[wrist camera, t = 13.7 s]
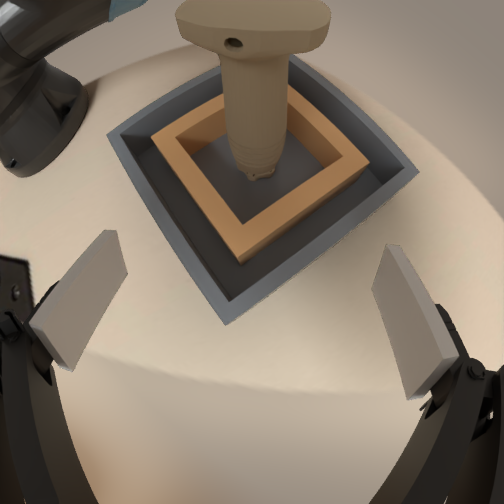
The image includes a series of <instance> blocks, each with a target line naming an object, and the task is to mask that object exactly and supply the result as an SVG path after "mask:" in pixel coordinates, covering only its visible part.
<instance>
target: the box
mask: <svg viewBox="0 0 504 504" xmlns="http://www.w3.org/2000/svg"><path fill="white" fill-rule="evenodd" d="M107 137H108V139H109V141H110V143H111V145H112V147H113V149H114V151H115V152H116V154H117V156H118V158H119V160H120V162H121V163H122V165H123V167H124V169H125V171H126V172H127V174H128V176H129V178H130V179H131V181H132V183H133V185H134V186H135V188H136V190H137V192H138V193H139V195H140V197H141V198H142V200H143V202H144V203H145V205H146V207H147V208H148V210H149V212H150V213H151V215H152V217H153V218H154V220H155V222H156V223H157V225H158V226H159V228H160V230H161V231H162V233H163V234H164V236H165V238H166V239H167V241H168V242H169V244H170V245H171V247H172V249H173V250H174V252H175V253H176V255H177V256H178V258H179V259H180V261H181V262H182V264H183V265H184V267H185V268H186V270H187V271H188V273H189V274H190V276H191V277H192V279H193V280H194V282H195V283H196V285H197V286H198V288H199V289H200V291H201V292H202V294H203V295H204V296H205V298H206V299H207V301H208V302H209V304H210V305H211V306H212V308H213V309H214V311H215V312H216V313H217V315H218V316H219V318H220V319H221V320H222V322H223V323H224V325H225V326H226V325H227V324H229V323H231V322H233V321H235V320H236V319H237V318H239V317H240V316H242V315H243V314H244V313H246V312H247V311H248V310H250V309H251V308H253V307H254V306H255V305H257V304H258V303H259V302H261V301H262V300H264V299H265V298H266V297H268V296H269V295H270V294H272V293H273V292H274V291H276V290H277V289H278V288H280V287H281V286H282V285H284V284H285V283H286V282H288V281H289V280H290V279H292V278H293V277H294V276H296V275H297V274H298V273H300V272H301V271H302V270H303V269H305V268H306V267H307V266H309V265H310V264H311V263H313V262H314V261H315V260H316V259H318V258H319V257H320V256H321V255H323V254H324V253H325V252H327V251H328V250H329V249H330V248H332V247H333V246H334V245H335V244H337V243H338V242H339V241H340V240H342V239H343V238H344V237H345V236H347V235H348V234H349V233H350V232H351V231H353V230H354V229H355V228H356V227H358V226H359V225H360V224H361V223H362V222H364V221H365V220H366V219H367V218H368V217H370V216H371V215H372V214H373V213H374V212H376V211H377V210H378V209H379V208H380V207H382V206H383V205H384V204H385V203H386V202H387V201H389V200H390V199H391V198H392V197H393V196H394V195H396V194H397V193H398V192H399V191H400V190H401V189H402V188H403V187H404V186H405V185H407V184H408V183H409V182H410V181H411V180H412V179H413V178H414V177H415V176H416V175H417V174H418V173H419V171H418V169H417V168H416V167H415V166H414V164H413V163H412V162H411V161H410V160H409V159H408V157H407V156H406V155H405V154H404V153H403V152H402V151H401V149H400V148H399V147H398V146H397V145H396V144H395V143H394V142H393V141H392V140H391V139H390V137H389V136H388V135H387V134H386V133H385V132H384V131H383V130H382V129H381V128H380V127H379V126H378V125H377V124H376V123H375V122H374V121H373V120H372V119H371V118H370V117H369V116H368V115H367V114H366V113H365V112H364V111H362V110H361V109H360V108H359V107H358V106H357V105H356V104H355V103H354V102H353V101H352V100H350V99H349V98H348V97H347V96H346V95H345V94H344V93H342V92H341V91H340V90H339V89H338V88H337V87H335V86H334V85H333V84H332V83H330V82H329V81H328V80H327V79H326V78H324V77H323V76H322V75H320V74H319V73H318V72H317V71H315V70H314V69H313V68H311V67H310V66H309V65H307V64H306V63H305V62H303V61H302V60H300V59H299V58H298V57H296V56H295V55H293V54H290V56H289V63H288V91H287V131H286V138H285V143H284V147H283V151H282V154H281V156H280V159H279V161H278V163H277V164H276V166H275V172H274V174H273V176H272V177H270V178H260V179H258V180H257V181H250V180H248V178H247V175H246V174H245V173H244V172H242V171H240V170H239V169H238V168H237V165H236V160H235V158H234V156H233V154H232V151H231V148H230V145H229V141H228V136H227V131H226V122H225V109H224V95H223V85H222V75H221V65H220V66H218V67H216V68H214V69H212V70H210V71H208V72H206V73H204V74H202V75H200V76H198V77H196V78H194V79H192V80H190V81H188V82H186V83H185V84H183V85H181V86H179V87H178V88H176V89H174V90H172V91H171V92H169V93H167V94H166V95H164V96H162V97H161V98H159V99H157V100H156V101H154V102H153V103H151V104H149V105H148V106H146V107H145V108H143V109H142V110H140V111H139V112H137V113H136V114H134V115H133V116H131V117H130V118H129V119H127V120H126V121H124V122H123V123H122V124H120V125H119V126H117V127H116V128H115V129H113V130H112V131H111V132H109V133H108V134H107Z"/></svg>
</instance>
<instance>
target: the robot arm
mask: <svg viewBox="0 0 504 504" xmlns="http://www.w3.org/2000/svg"><path fill="white" fill-rule="evenodd" d="M146 1H148V0H0V161H1V163H2V164H3V166H4V167H5V168H6V169H7V170H8V171H10V172H11V173H13V174H14V175H16V176H17V177H28V176H31V175H33V174H35V173H37V172H39V171H40V170H42V169H43V168H44V167H46V166H47V165H48V164H49V163H50V162H51V161H52V160H54V159H55V158H56V156H57V155H58V154H59V153H60V152H61V151H62V150H63V149H64V147H65V146H66V145H67V144H68V142H69V141H70V140H71V138H72V137H73V135H74V134H75V132H76V131H77V129H78V127H79V126H80V124H81V122H82V120H83V118H84V115H85V113H86V110H87V106H88V94H87V91H86V90H85V88H84V87H83V86H82V84H81V83H80V82H79V81H78V80H77V79H76V78H74V77H72V76H70V75H68V74H67V73H65V72H63V71H61V70H59V69H58V68H56V67H54V66H52V65H50V64H49V63H48V62H47V61H46V60H45V58H44V57H46V56H47V55H48V54H50V53H52V52H53V51H55V50H56V49H58V48H59V47H61V46H63V45H64V44H66V43H68V42H69V41H71V40H73V39H75V38H76V37H78V36H80V35H82V34H84V33H85V32H87V31H89V30H91V29H93V28H95V27H97V26H99V25H101V24H103V23H105V22H107V21H108V22H111V21H113V20H114V18H116V17H118V16H120V15H122V14H124V13H126V12H129V11H131V10H133V9H136V8H138V7H140V6H141V5H143V4H144V3H146ZM127 275H128V273H127V269H126V266H125V262H124V259H123V255H122V251H121V247H120V243H119V239H118V235H117V231H116V230H104V231H103V232H102V233H101V234H100V235H99V236H98V237H97V238H96V239H95V240H94V241H93V243H92V244H91V245H90V246H89V247H88V248H87V249H86V250H85V251H84V253H83V254H82V255H81V256H80V257H79V258H78V259H77V261H76V262H75V263H74V264H73V265H72V267H71V268H70V269H69V270H68V271H67V273H66V274H65V275H64V276H63V278H62V279H61V280H60V281H57V282H56V283H55V284H54V285H52V286H51V287H50V288H49V289H48V291H47V292H46V293H45V295H44V296H43V297H42V298H41V300H40V303H38V304H37V305H36V307H35V308H34V309H33V311H32V312H31V313H30V315H29V316H28V318H27V319H26V321H25V322H24V323H23V324H22V323H21V321H20V320H19V318H18V316H17V315H16V313H15V312H14V311H13V310H11V309H7V310H4V311H2V312H0V504H25V502H26V504H98V502H97V500H96V498H95V496H94V494H93V492H92V490H91V487H90V485H89V483H88V481H87V478H86V476H85V474H84V471H83V469H82V467H81V464H80V461H79V459H78V456H77V453H76V451H75V448H74V445H73V442H72V439H71V436H70V433H69V430H68V426H67V423H66V420H65V416H64V412H63V409H62V405H61V401H60V396H59V392H58V387H57V383H56V378H55V372H54V369H53V366H52V365H51V363H52V361H53V360H55V362H56V363H57V364H58V366H59V367H60V368H62V369H65V370H68V371H71V372H73V371H74V369H75V367H76V365H77V362H78V361H79V359H80V357H81V355H82V353H83V351H84V349H85V347H86V345H87V343H88V341H89V340H90V338H91V336H92V334H93V332H94V330H95V329H96V327H97V325H98V323H99V321H100V320H101V318H102V316H103V314H104V313H105V311H106V309H107V307H108V306H109V304H110V302H111V301H112V299H113V297H114V296H115V294H116V292H117V291H118V289H119V287H120V286H121V284H122V283H123V281H124V279H125V278H126V276H127ZM371 289H372V292H373V294H374V297H375V300H376V302H377V305H378V308H379V310H380V313H381V316H382V319H383V322H384V325H385V328H386V331H387V333H388V337H389V340H390V343H391V346H392V349H393V352H394V355H395V359H396V362H397V365H398V369H399V372H400V376H401V379H402V383H403V387H404V390H405V394H406V398H407V400H412V399H417V398H422V397H424V396H425V395H426V394H427V393H428V391H429V390H431V394H432V397H431V398H430V399H429V400H428V401H427V402H426V403H425V404H424V405H423V406H422V407H421V408H420V411H422V410H423V409H424V408H425V410H424V412H423V414H422V416H421V418H420V420H419V423H418V425H417V427H416V429H415V431H414V433H413V435H412V436H411V438H410V440H409V442H408V444H407V446H406V447H405V449H404V451H403V453H402V455H401V456H400V458H399V460H398V461H397V463H396V465H395V466H394V468H393V469H392V471H391V473H390V474H389V476H388V477H387V479H386V480H385V482H384V483H383V485H382V486H381V488H380V489H379V490H378V492H377V493H376V494H375V496H374V497H373V499H372V500H371V501H370V503H369V504H444V502H445V500H446V498H447V500H446V503H445V504H504V365H503V366H502V367H501V368H500V369H499V370H498V371H497V372H496V371H489V370H486V369H485V367H484V366H483V364H482V363H481V362H480V361H478V360H477V359H474V358H470V357H469V355H468V353H467V351H466V348H465V346H464V344H463V342H462V340H461V338H460V336H459V334H458V332H457V331H456V328H455V326H454V324H453V323H452V320H451V318H450V316H449V314H448V312H447V311H446V310H445V309H444V308H443V307H442V306H441V305H440V304H434V302H433V301H432V299H431V297H430V295H429V293H428V292H427V290H426V288H425V286H424V284H423V283H422V281H421V279H420V278H419V276H418V274H417V273H416V271H415V269H414V268H413V266H412V264H411V263H410V261H409V259H408V258H407V256H406V255H405V253H404V252H403V250H402V248H401V247H400V245H388V244H386V246H385V250H384V253H383V256H382V259H381V262H380V265H379V268H378V271H377V274H376V277H375V280H374V283H373V286H372V288H371ZM492 411H493V418H492V419H490V413H491V412H492ZM447 496H448V497H447ZM24 499H25V501H24Z"/></svg>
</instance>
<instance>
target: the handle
mask: <svg viewBox="0 0 504 504" xmlns="http://www.w3.org/2000/svg"><path fill="white" fill-rule="evenodd" d="M175 17H176V20H177V24H178V27H179V31H180V34H181V36H182V38H184V39H186V40H188V41H190V42H192V43H194V44H196V45H198V46H200V47H202V48H205V49H207V50H210V51H212V52H215V53H218V56H219V59H220V65H221V75H222V85H223V95H224V109H225V122H226V131H227V136H228V141H229V145H230V148H231V151H232V154H233V156H234V158H235V160H236V165H237V168H238V169H239V170H240V171H242V172H244V173H245V174H246V175H247V178H248V180H250V181H257V180H258V179H260V178H270V177H272V176H273V174H274V172H275V166H276V164H277V163H278V161H279V159H280V156H281V154H282V151H283V147H284V143H285V138H286V131H287V91H288V63H289V56H290V54H297V53H306V52H309V51H312V50H314V49H316V48H318V47H319V46H320V45H321V44H322V43H323V42H324V40H325V38H326V36H327V33H328V29H329V24H330V19H331V11H330V9H329V7H328V6H327V5H326V4H325V3H323V2H322V1H320V0H186V1H185V2H183V3H182V4H181V5H180V6H179V7H178V9H177V10H176V13H175Z"/></svg>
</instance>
